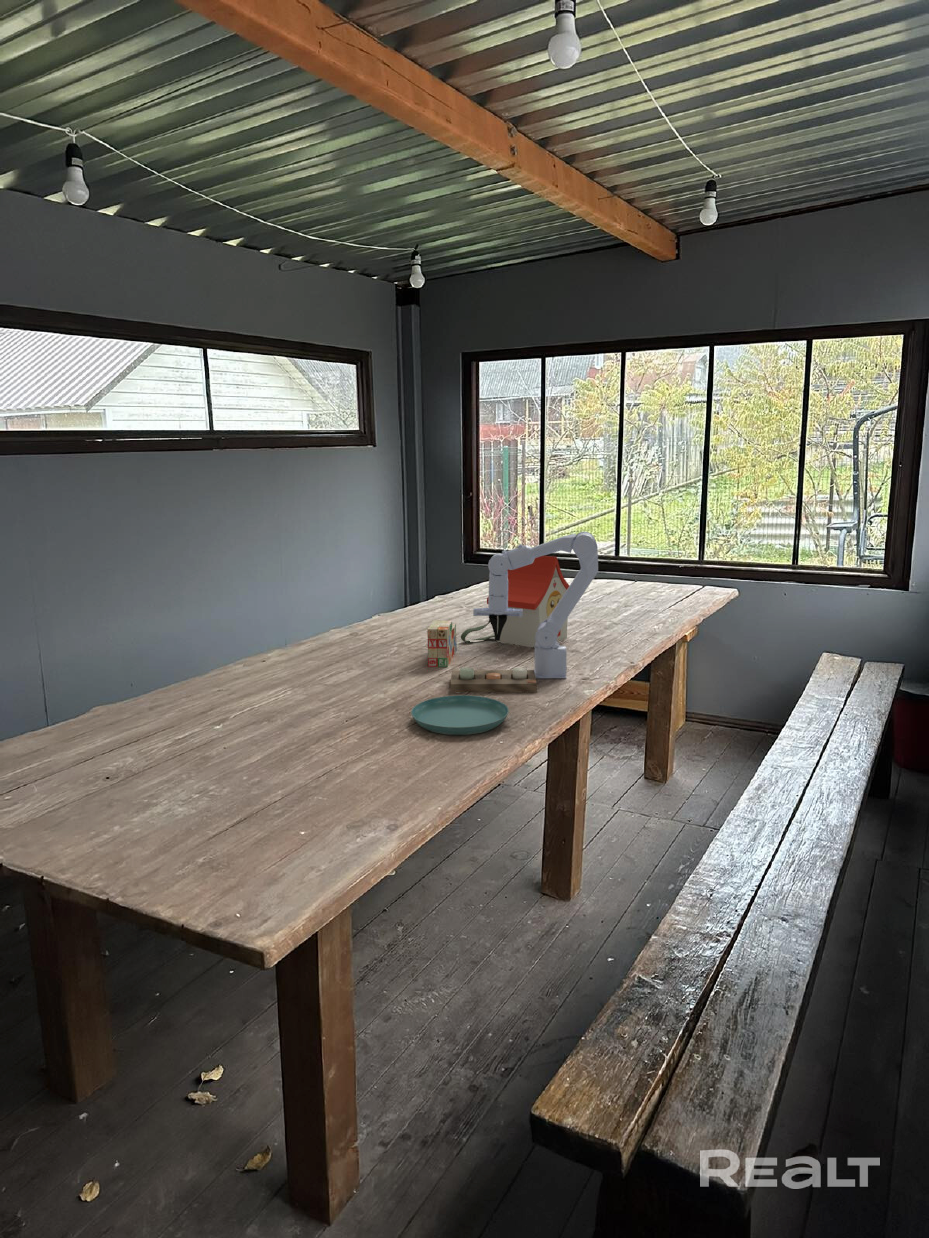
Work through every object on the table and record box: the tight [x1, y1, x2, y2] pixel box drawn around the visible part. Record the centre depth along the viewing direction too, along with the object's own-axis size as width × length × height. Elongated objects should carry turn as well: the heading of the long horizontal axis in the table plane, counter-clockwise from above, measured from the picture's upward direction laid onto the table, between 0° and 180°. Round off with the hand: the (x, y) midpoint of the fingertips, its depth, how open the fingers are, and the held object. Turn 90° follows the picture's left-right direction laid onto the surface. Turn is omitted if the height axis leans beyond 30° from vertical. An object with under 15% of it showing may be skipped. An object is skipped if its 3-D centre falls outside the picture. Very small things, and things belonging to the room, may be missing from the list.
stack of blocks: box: [427, 620, 458, 668], centre depth 269 cm, size 21×6×12 cm, turn 173°
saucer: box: [410, 694, 509, 736], centre depth 210 cm, size 24×24×3 cm
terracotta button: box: [486, 673, 500, 679], centre depth 240 cm, size 4×4×3 cm
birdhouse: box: [460, 555, 570, 649], centre depth 293 cm, size 36×30×30 cm
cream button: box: [512, 666, 528, 679], centre depth 239 cm, size 4×4×3 cm
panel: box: [450, 669, 538, 693], centre depth 240 cm, size 24×14×3 cm, turn 89°
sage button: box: [459, 667, 475, 679], centre depth 240 cm, size 4×4×3 cm
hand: (497, 639), depth 250 cm, fingers closed
